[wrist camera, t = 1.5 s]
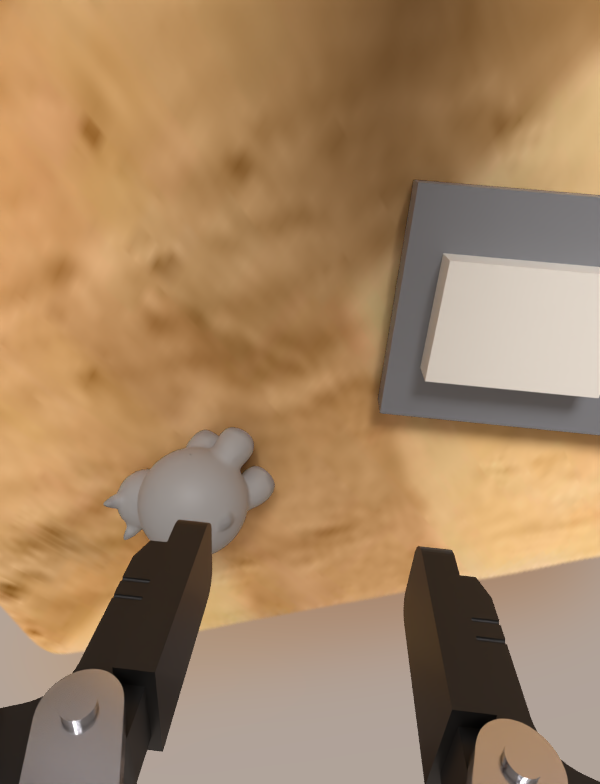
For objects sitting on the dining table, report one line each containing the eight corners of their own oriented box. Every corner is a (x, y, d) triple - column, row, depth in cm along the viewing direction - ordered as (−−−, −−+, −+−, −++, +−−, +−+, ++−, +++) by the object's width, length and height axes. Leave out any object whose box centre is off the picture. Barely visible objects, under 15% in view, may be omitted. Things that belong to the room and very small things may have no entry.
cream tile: (443, 253, 28) (449, 260, 26) (625, 269, 27) (645, 278, 25) (420, 367, 31) (425, 381, 29) (583, 383, 30) (598, 398, 29)
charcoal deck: (413, 179, 28) (418, 182, 26) (779, 210, 27) (810, 214, 25) (377, 398, 34) (379, 413, 32) (673, 428, 34) (692, 444, 32)
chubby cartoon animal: (136, 420, 40) (50, 488, 33) (256, 414, 33) (177, 497, 27) (173, 491, 43) (100, 566, 36) (290, 498, 36) (226, 590, 30)
